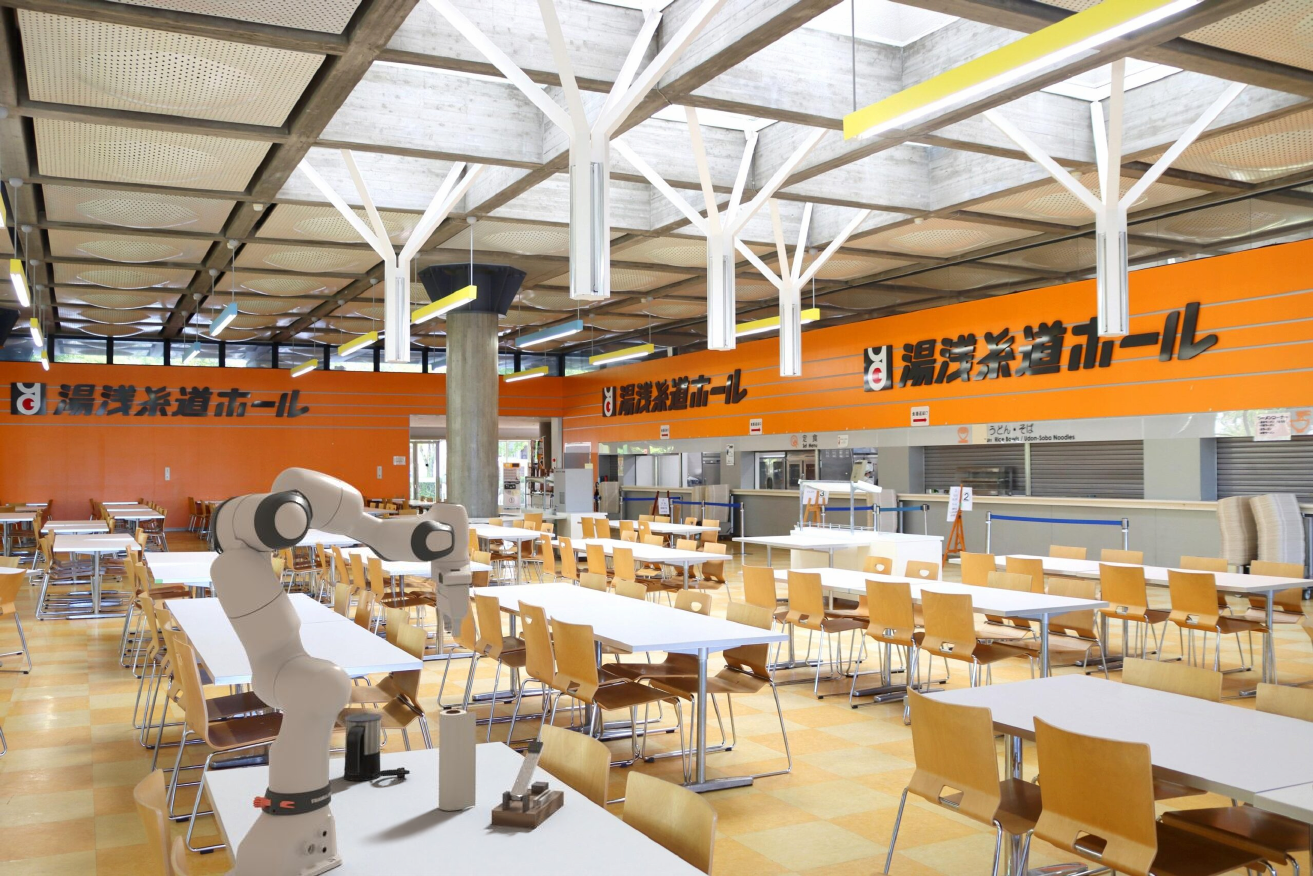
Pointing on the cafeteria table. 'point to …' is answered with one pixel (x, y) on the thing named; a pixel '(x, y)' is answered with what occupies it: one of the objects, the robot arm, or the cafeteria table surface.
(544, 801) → the wooden base lever press
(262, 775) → the cafeteria table surface
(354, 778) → the milk frother
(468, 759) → the paper towel roll
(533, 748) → the beige-grey bar
